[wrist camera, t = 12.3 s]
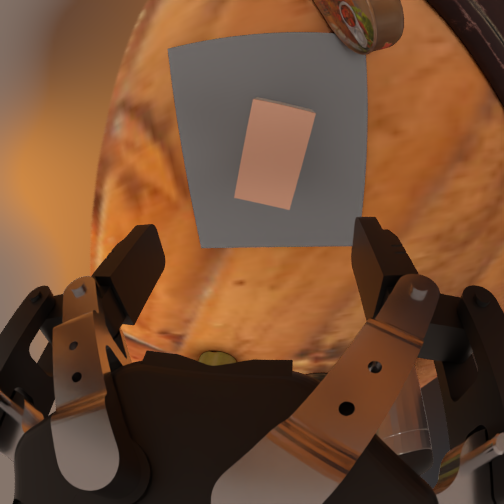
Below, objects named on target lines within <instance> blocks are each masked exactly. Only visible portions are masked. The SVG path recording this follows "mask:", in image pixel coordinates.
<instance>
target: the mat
mask: <svg viewBox="0 0 504 504" xmlns="http://www.w3.org/2000/svg"><path fill="white" fill-rule="evenodd" d="M168 55H169V64H170V72H171V80H172V87H173V94H174V101H175V108H176V115H177V121H178V128H179V134H180V140H181V146H182V152H183V157H184V163H185V169H186V174H187V180H188V185H189V190H190V195H191V200H192V205H193V210H194V215H195V220H196V225H197V230H198V234H199V239H200V244H201V248H237V247H312V246H352V244H353V235H354V224H355V219H356V217H361V216H362V207H363V197H364V185H365V171H366V153H367V118H368V103H367V69H366V55H361V54H358V53H355V52H354V51H352V50H351V49H349V48H348V47H347V46H346V45H345V44H344V43H343V42H342V41H341V40H340V39H339V38H338V37H337V35H336V34H335V33H315V32H286V33H264V34H252V35H242V36H233V37H226V38H219V39H213V40H207V41H201V42H196V43H191V44H186V45H182V46H178V47H173V48H169V49H168ZM256 97H260V98H265V99H270V100H274V101H279V102H283V103H288V104H292V105H296V106H300V107H304V108H308V109H311V110H313V111H314V112H315V113H316V115H315V119H314V122H313V126H312V130H311V134H310V138H309V141H308V145H307V149H306V152H305V156H304V160H303V163H302V167H301V171H300V174H299V178H298V181H297V185H296V188H295V192H294V196H293V199H292V203H291V206H290V210H287V209H283V208H278V207H274V206H270V205H265V204H261V203H256V202H252V201H247V200H242V199H238V198H234V196H235V190H236V184H237V179H238V174H239V168H240V163H241V157H242V152H243V147H244V142H245V137H246V131H247V126H248V121H249V116H250V111H251V107H252V102H253V99H254V98H256Z"/></svg>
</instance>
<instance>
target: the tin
mask: <svg viewBox="0 0 504 504" xmlns="http://www.w3.org/2000/svg"><path fill="white" fill-rule="evenodd" d="M313 1H314V3H315V4H316V6H317V7H318V9H319V10H320V12H321V13H322V15H323V16H324V18H325V20H326V21H327V23H328V24H329V26H330V27H331V29H332V30H333V31H334V33H335V34H336V35H337V37H338V38H339V39H340V40H341V41H342V42H343V43H344V44H345V45H346V46H347V47H348V48H349V49H351V50H352V51H354V52H355V53H358V54H361V55H366V54H369V53H371V52H372V51H376V50H380V49H384V48H388V47H391V46H393V45H394V44H395V43H396V42H397V41H398V40H399V39H400V37H401V36H402V33H403V28H404V14H403V9H402V5H401V1H400V0H313Z"/></svg>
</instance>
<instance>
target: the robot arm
mask: <svg viewBox="0 0 504 504" xmlns="http://www.w3.org/2000/svg"><path fill="white" fill-rule="evenodd" d="M351 260H352V268H353V272H354V275H355V279H356V282H357V286H358V289H359V293H360V297H361V301H362V305H363V309H364V313H365V317H366V321H367V322H366V323H365V325H364V326H363V327H362V329H361V330H360V332H359V333H358V334H357V336H356V337H355V339H354V340H353V341H352V343H351V344H350V345H349V347H348V348H347V350H346V351H345V352H344V353H343V355H342V356H341V357H340V359H339V360H338V361H337V363H336V364H335V365H334V366H333V368H332V369H331V370H330V371H329V373H328V374H327V375H326V376H325V378H324V379H323V380H322V381H319V380H317V379H315V378H313V377H311V376H308V375H305V374H302V373H299V372H295V371H292V362H293V360H248V361H242V362H236V363H230V364H223V365H217V366H211V365H207V364H204V363H201V362H198V361H195V360H192V359H190V358H187V357H184V356H181V355H178V354H170V353H162V352H154V351H146V354H145V356H144V359H143V361H139V362H133V363H132V361H131V358H130V355H129V351H128V348H127V345H126V341H125V338H124V334H123V332H122V330H121V328H120V327H121V325H122V324H128V325H135V323H136V321H137V319H138V317H139V315H140V313H141V311H142V309H143V307H144V305H145V303H146V301H147V300H148V298H149V296H150V294H151V292H152V290H153V288H154V287H155V285H156V283H157V281H158V279H159V277H160V276H161V274H162V272H163V270H164V268H165V255H164V252H163V249H162V245H161V242H160V239H159V235H158V232H157V229H156V227H155V226H154V225H153V224H148V225H137V226H135V227H134V228H133V230H132V231H131V232H130V233H129V234H128V235H127V237H126V238H125V239H124V240H122V241H121V242H119V243H118V244H117V245H116V246H115V247H114V249H113V250H112V252H111V253H109V255H108V256H107V259H105V260H104V261H103V262H102V263H101V265H100V266H99V267H98V268H97V270H96V271H95V272H94V273H93V275H92V276H91V277H90V276H85V277H81V278H78V279H76V280H74V281H73V282H71V283H70V284H69V285H68V286H67V287H66V289H65V291H64V293H63V294H61V295H57V296H53V294H52V292H51V290H50V289H49V287H48V286H40V287H38V288H36V289H34V290H33V291H32V292H31V293H29V294H28V296H27V297H26V298H25V300H24V301H23V302H22V304H21V305H20V306H19V308H18V309H17V310H16V312H15V313H14V315H13V316H12V318H11V319H10V320H9V322H8V324H7V325H6V326H5V328H4V330H3V331H2V332H1V334H0V454H2V455H3V456H6V457H8V458H9V459H10V460H12V461H13V462H14V469H15V470H14V471H15V493H14V494H15V495H14V501H13V504H504V313H503V311H502V309H501V307H500V305H499V304H498V302H497V300H496V298H495V297H494V296H493V294H492V293H491V292H489V291H488V290H487V289H485V288H483V287H480V286H474V285H473V286H468V287H466V288H465V289H464V291H463V293H462V296H461V298H460V297H455V296H450V295H444V294H441V293H440V291H439V288H438V286H437V285H436V284H435V283H434V282H433V281H432V280H431V279H429V278H427V277H425V276H423V275H419V274H418V272H417V270H416V269H415V267H414V265H413V263H412V261H411V259H410V258H409V256H408V254H407V253H406V251H405V249H404V247H403V246H402V244H401V242H400V240H399V239H398V237H397V236H396V235H395V234H393V233H392V232H391V231H389V230H383V229H382V228H381V226H380V224H379V222H378V221H377V219H376V217H356V219H355V224H354V235H353V244H352V254H351ZM39 329H40V330H41V331H42V333H43V334H44V335H45V337H46V338H47V340H48V341H49V342H48V344H47V346H46V348H45V350H44V351H43V354H42V355H41V357H40V359H39V361H38V363H36V362H35V361H34V360H33V359H32V358H31V356H30V353H29V346H30V343H31V342H32V340H33V339H34V337H35V335H36V334H37V332H38V331H39ZM472 352H473V354H474V356H475V359H476V362H477V365H478V371H477V368H476V365H475V362H474V359H473V356H472ZM417 357H418V358H424V359H430V360H434V364H435V368H436V372H437V376H438V380H439V385H440V389H441V393H442V399H443V404H444V409H445V415H446V421H447V428H448V435H449V443H450V451H449V452H448V453H447V454H446V455H445V457H444V458H443V460H442V463H441V466H440V472H439V479H438V482H437V484H436V486H435V488H434V489H432V488H431V487H430V486H429V484H427V482H426V481H425V480H423V479H422V478H421V477H420V475H421V474H423V473H425V472H426V471H428V470H429V469H430V468H431V467H432V465H433V454H432V448H431V441H430V434H429V429H428V424H427V418H426V413H425V408H424V403H423V398H422V394H421V390H420V385H419V381H418V377H417V373H416V369H415V365H414V363H415V361H416V359H417ZM54 400H55V403H56V411H55V412H54V413H52V414H51V415H49V416H48V414H49V412H50V410H51V407H52V405H53V402H54Z"/></svg>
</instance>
